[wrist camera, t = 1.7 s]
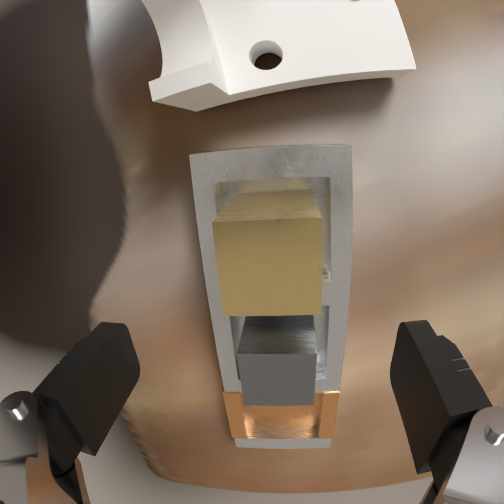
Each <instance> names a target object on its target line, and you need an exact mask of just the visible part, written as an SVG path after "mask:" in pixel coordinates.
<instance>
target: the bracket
mask: <svg viewBox="0 0 504 504" xmlns="http://www.w3.org/2000/svg"><path fill="white" fill-rule="evenodd" d="M141 1H142V3H143V4H144V6H145V7H146V9H147V11H148V12H149V14H150V16H151V18H152V21H153V23H154V25H155V28H156V31H157V34H158V37H159V41H160V45H161V50H162V59H163V66H162V73H161V76H160V78H157V79H155V80H152V81H149V82H148V83H149V87H150V92H151V97H152V101H153V102H157V103H162V104H166V105H171V106H175V107H180V108H184V109H188V110H192V111H196V112H197V111H200V110H204V109H207V108H211V107H215V106H218V105H222V104H226V103H230V102H234V101H238V100H242V99H246V98H251V97H255V96H260V95H264V94H269V93H274V92H279V91H284V90H290V89H295V88H301V87H307V86H314V85H320V84H327V83H335V82H343V81H352V80H361V79H373V78H386V77H402V76H404V75H406V74H408V73H410V72H412V71H414V70H416V65H415V62H414V58H413V54H412V51H411V48H410V44H409V41H408V38H407V35H406V32H405V29H404V26H403V23H402V20H401V17H400V14H399V11H398V9H397V6H396V4H395V1H394V0H141ZM264 53H274V54H277V55H278V56H279V57H281V59H282V61H281V63H280V64H279V65H278V66H277V67H276V68H274V69H271V70H261V69H258V68H256V67H255V66H254V63H255V61H256V59H257V58H258V57H259V56H260V55H262V54H264Z"/></svg>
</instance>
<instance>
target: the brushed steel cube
mask: <svg viewBox="0 0 504 504" xmlns="http://www.w3.org/2000/svg"><path fill="white" fill-rule="evenodd" d="M237 360H238V368H239V375H240V381H241V388H242V395H243V402H244V405H256V406H305V405H314V395H315V380H316V363H317V347H316V337H315V327H314V317H313V315H288V316H246V317H245V321H244V326H243V330H242V334H241V338H240V342H239V346H238V350H237Z"/></svg>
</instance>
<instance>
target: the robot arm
mask: <svg viewBox="0 0 504 504" xmlns="http://www.w3.org/2000/svg"><path fill="white" fill-rule="evenodd" d="M139 375H140V365H139V361H138V358H137V355H136V352H135V349H134V346H133V343H132V340H131V337H130V333H129V330H128V328H127V326H126V325H125V324H122V323H110V322H101V323H100V324H99V325H98V326H97V327H96V328H95V329H94V330H93V331H92V332H91V333H90V334H89V336H88V337H86V338H84V339H83V340H81V341H80V342H78V343H76V344H75V345H74V346H73V347H72V349H71V350H70V351H69V352H68V353H67V356H64V357H63V359H62V360H61V361H60V364H57V365H56V366H55V367H54V369H53V370H52V371H51V372H50V373H49V374H48V375H47V377H46V378H45V379H44V380H43V381H42V382H41V384H40V385H39V386H38V387H37V388H36V389H35V391H34V392H33V393H31V392H28V391H18V392H14V393H12V394H10V395H8V396H7V397H5V398H4V399H3V400H2V401H1V403H0V504H90V501H89V497H88V493H87V489H86V485H85V481H84V476H83V472H82V467H81V463H80V461H79V459H78V458H77V456H78V454H79V453H80V451H81V452H84V453H87V454H90V455H93V456H96V454H97V452H98V450H99V448H100V446H101V445H102V443H103V441H104V439H105V438H106V436H107V434H108V432H109V430H110V429H111V427H112V425H113V423H114V422H115V420H116V418H117V416H118V414H119V413H120V411H121V409H122V408H123V406H124V404H125V402H126V401H127V399H128V397H129V395H130V394H131V392H132V390H133V389H134V387H135V385H136V383H137V382H138V379H139ZM390 380H391V385H392V389H393V392H394V395H395V398H396V401H397V404H398V407H399V411H400V414H401V417H402V421H403V424H404V427H405V431H406V434H407V438H408V442H409V445H410V449H411V453H412V456H413V460H414V464H415V468H416V472H417V474H421V473H425V472H429V471H431V472H432V475H433V481H432V482H431V484H430V485H429V487H428V489H427V491H426V493H425V495H424V497H423V499H422V501H421V502H420V504H504V408H502V407H495V406H492V404H491V402H490V401H489V399H488V397H487V395H486V394H485V392H484V390H483V388H482V387H481V385H480V383H479V382H478V380H477V378H476V377H475V375H474V373H473V372H472V370H471V369H469V365H468V364H467V362H466V360H465V359H464V360H463V356H462V354H461V353H460V351H459V349H458V348H457V346H456V345H455V344H454V343H452V342H451V341H450V340H448V339H447V338H446V337H444V336H443V335H441V336H437V335H436V333H435V332H434V330H433V329H432V327H431V326H430V324H429V323H428V321H427V320H420V321H410V322H402V323H400V325H399V328H398V332H397V337H396V343H395V347H394V352H393V357H392V361H391V367H390Z"/></svg>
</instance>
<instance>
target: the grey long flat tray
mask: <svg viewBox="0 0 504 504" xmlns="http://www.w3.org/2000/svg"><path fill="white" fill-rule="evenodd" d="M189 158H190V168H191V177H192V186H193V194H194V203H195V211H196V219H197V226H198V234H199V241H200V248H201V256H202V262H203V269H204V276H205V283H206V289H207V295H208V302H209V308H210V314H211V320H212V326H213V332H214V337H215V343H216V349H217V354H218V360H219V365H220V370H221V376H222V381H223V386H224V388H223V391H222V393H223V398H224V403H225V407H226V412H227V417H228V421H229V426H230V430H231V435H232V437H234V439H235V443H236V447H246V448H274V449H297V448H325V447H330V445H331V439H332V435H333V430H334V424H335V418H336V412H337V406H338V399H339V391H340V384H341V376H342V368H343V360H344V351H345V342H346V332H347V321H348V309H349V295H350V279H351V258H352V219H353V189H352V151H351V145H347V144H311V145H285V146H267V147H252V148H239V149H228V150H218V151H208V152H200V153H195V154H190V155H189ZM284 191H311V192H312V194H313V196H314V199H315V201H316V204H317V206H318V209H319V211H320V213H321V216H322V310H321V314H320V315H313V317H314V327H315V337H316V347H317V363H316V380H315V395H314V405H305V406H256V405H244V402H243V395H242V388H241V381H240V375H239V368H238V360H237V350H238V346H239V342H240V338H241V334H242V330H243V326H244V321H245V317H246V316H224V313H223V306H222V299H221V292H220V285H219V277H218V270H217V262H216V254H215V246H214V238H213V230H212V221H213V220H214V219H215V218H216V217H217V216H218V215H219V213H220V212H221V211H222V210H223V209H224V208H225V207H226V205H227V204H228V203H229V202H230V201H231V200H232V199H233V198H234V196H235V195H236V194H246V193H263V192H284Z"/></svg>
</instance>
